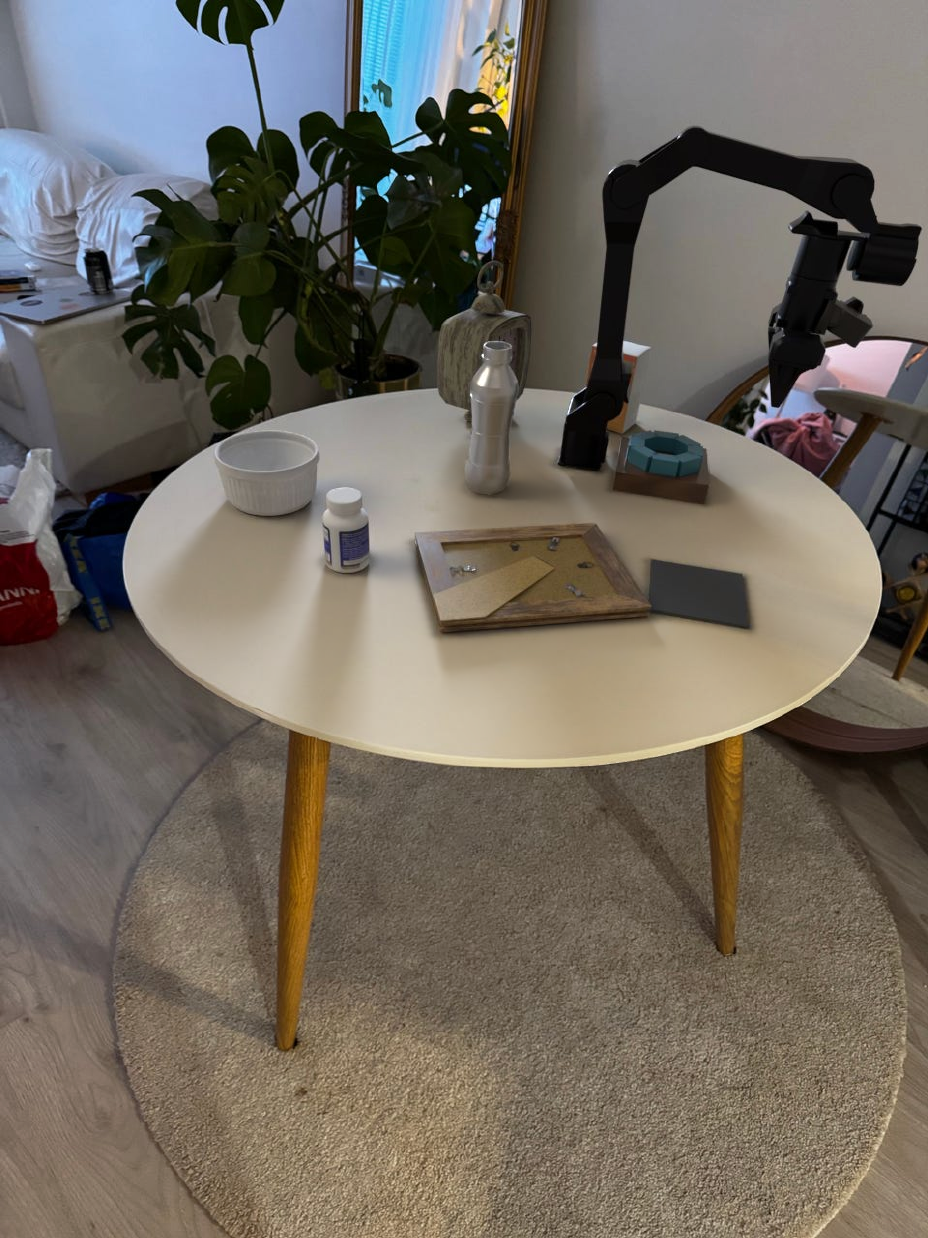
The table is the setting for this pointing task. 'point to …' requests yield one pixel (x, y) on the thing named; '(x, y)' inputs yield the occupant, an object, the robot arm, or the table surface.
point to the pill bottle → (345, 531)
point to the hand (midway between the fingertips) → (774, 395)
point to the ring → (680, 464)
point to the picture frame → (525, 577)
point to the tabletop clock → (480, 344)
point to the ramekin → (268, 471)
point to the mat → (698, 593)
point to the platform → (660, 479)
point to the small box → (640, 363)
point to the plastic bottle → (491, 420)
